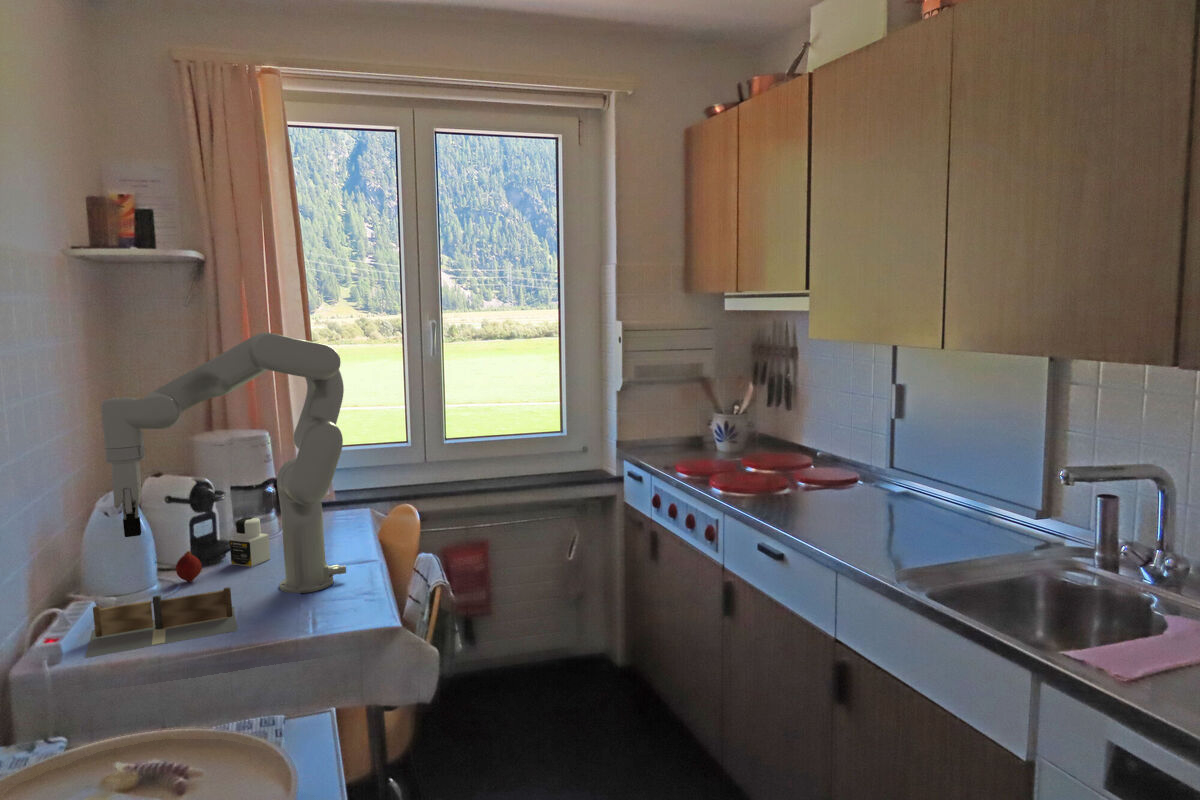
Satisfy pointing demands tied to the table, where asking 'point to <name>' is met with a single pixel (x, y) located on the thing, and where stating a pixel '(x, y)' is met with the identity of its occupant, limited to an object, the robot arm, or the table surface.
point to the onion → (188, 567)
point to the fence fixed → (192, 608)
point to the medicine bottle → (249, 543)
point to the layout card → (158, 636)
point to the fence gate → (122, 618)
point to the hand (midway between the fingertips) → (133, 535)
